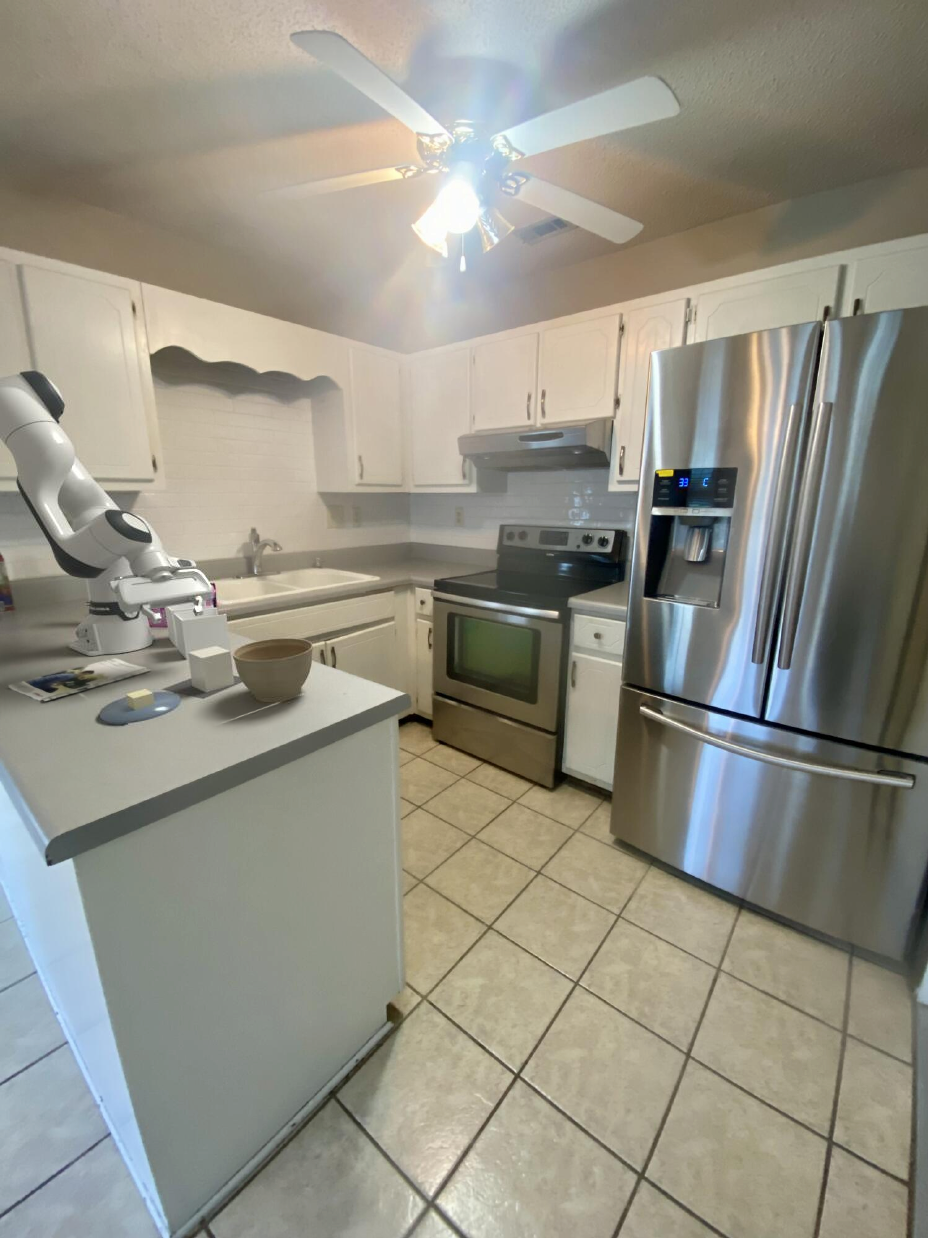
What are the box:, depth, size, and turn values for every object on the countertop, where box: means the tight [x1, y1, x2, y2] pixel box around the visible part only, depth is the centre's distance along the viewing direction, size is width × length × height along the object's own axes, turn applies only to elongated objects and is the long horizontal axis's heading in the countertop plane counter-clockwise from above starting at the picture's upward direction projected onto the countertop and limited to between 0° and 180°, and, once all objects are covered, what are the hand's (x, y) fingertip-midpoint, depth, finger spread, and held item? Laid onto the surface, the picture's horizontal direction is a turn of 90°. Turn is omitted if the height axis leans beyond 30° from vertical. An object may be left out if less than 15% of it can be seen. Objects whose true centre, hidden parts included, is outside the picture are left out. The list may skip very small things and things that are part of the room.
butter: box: [125, 688, 155, 710], centre depth 104 cm, size 4×4×2 cm
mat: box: [161, 675, 243, 700], centre depth 117 cm, size 13×13×1 cm
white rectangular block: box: [188, 646, 234, 693], centre depth 115 cm, size 6×6×8 cm
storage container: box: [165, 601, 231, 661], centre depth 146 cm, size 25×11×11 cm, turn 39°
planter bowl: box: [232, 637, 314, 703], centre depth 110 cm, size 16×16×11 cm
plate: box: [99, 691, 182, 726], centre depth 104 cm, size 14×14×1 cm
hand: (179, 618), depth 120 cm, fingers open, 8 cm apart
